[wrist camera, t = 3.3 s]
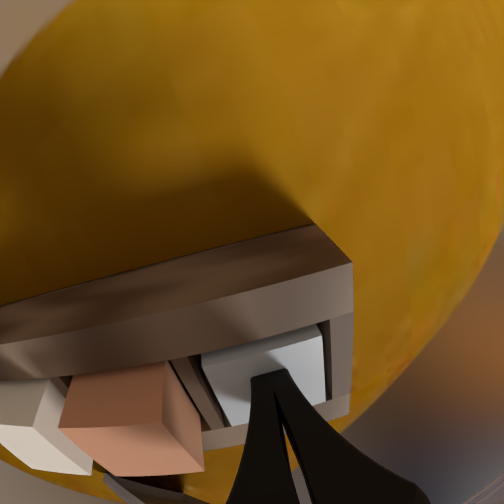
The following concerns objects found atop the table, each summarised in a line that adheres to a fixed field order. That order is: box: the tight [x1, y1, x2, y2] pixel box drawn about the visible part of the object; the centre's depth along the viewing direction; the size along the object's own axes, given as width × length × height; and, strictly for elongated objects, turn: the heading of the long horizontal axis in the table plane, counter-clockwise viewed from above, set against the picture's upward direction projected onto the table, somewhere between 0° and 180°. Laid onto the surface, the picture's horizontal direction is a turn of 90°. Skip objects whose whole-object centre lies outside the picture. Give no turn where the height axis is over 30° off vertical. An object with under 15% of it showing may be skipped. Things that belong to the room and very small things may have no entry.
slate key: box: [201, 324, 326, 426], centre depth 12 cm, size 4×4×3 cm
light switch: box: [103, 473, 210, 504], centre depth 17 cm, size 8×6×14 cm
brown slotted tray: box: [0, 223, 353, 451], centre depth 12 cm, size 18×9×4 cm, turn 101°
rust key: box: [58, 360, 205, 476], centre depth 10 cm, size 4×4×3 cm
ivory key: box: [0, 378, 93, 475], centre depth 10 cm, size 4×4×3 cm
